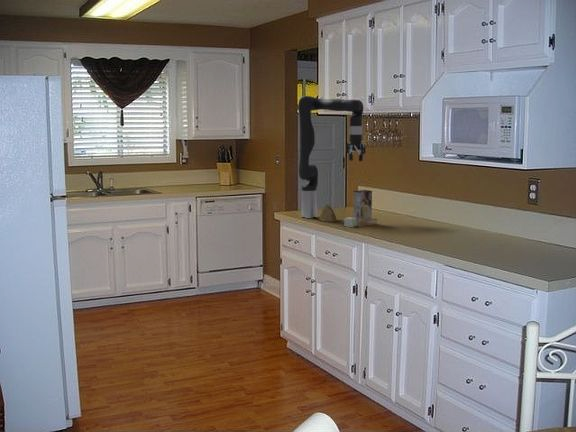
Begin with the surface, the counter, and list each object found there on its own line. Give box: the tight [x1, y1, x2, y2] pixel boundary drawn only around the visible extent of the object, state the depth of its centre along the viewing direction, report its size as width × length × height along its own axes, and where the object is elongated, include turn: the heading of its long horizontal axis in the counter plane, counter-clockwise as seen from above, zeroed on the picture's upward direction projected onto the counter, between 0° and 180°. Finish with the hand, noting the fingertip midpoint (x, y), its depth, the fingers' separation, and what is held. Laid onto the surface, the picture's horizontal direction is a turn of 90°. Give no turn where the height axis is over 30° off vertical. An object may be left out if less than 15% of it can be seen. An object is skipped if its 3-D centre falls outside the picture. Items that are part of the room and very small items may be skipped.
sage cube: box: [343, 216, 358, 228], centre depth 382 cm, size 5×5×5 cm
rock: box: [318, 204, 337, 222], centre depth 403 cm, size 11×9×10 cm
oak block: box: [352, 217, 378, 227], centre depth 390 cm, size 12×12×4 cm
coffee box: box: [353, 189, 373, 219], centre depth 389 cm, size 9×6×16 cm
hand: (355, 160), depth 401 cm, fingers open, 8 cm apart
